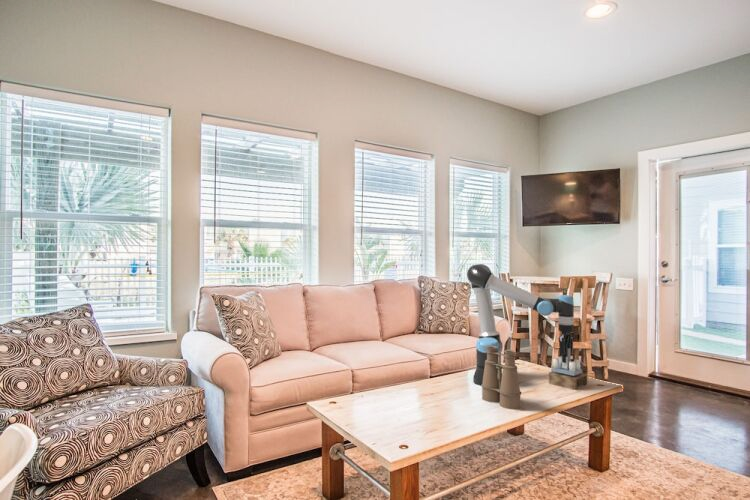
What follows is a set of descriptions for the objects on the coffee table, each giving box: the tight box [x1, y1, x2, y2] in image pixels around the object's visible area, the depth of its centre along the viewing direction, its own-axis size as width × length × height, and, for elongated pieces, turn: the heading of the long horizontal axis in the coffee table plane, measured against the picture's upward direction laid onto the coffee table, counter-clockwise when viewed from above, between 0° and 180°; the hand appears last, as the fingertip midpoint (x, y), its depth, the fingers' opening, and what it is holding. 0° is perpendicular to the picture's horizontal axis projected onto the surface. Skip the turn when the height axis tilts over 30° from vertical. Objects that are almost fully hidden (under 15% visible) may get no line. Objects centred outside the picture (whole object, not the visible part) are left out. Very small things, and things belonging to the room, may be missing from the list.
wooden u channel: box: [548, 364, 588, 391], centre depth 226 cm, size 14×15×10 cm
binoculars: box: [480, 346, 522, 410], centre depth 197 cm, size 21×10×25 cm, turn 34°
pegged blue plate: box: [550, 348, 582, 376], centre depth 225 cm, size 12×10×12 cm
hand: (566, 367), depth 225 cm, fingers closed on pegged blue plate, 3 cm apart
